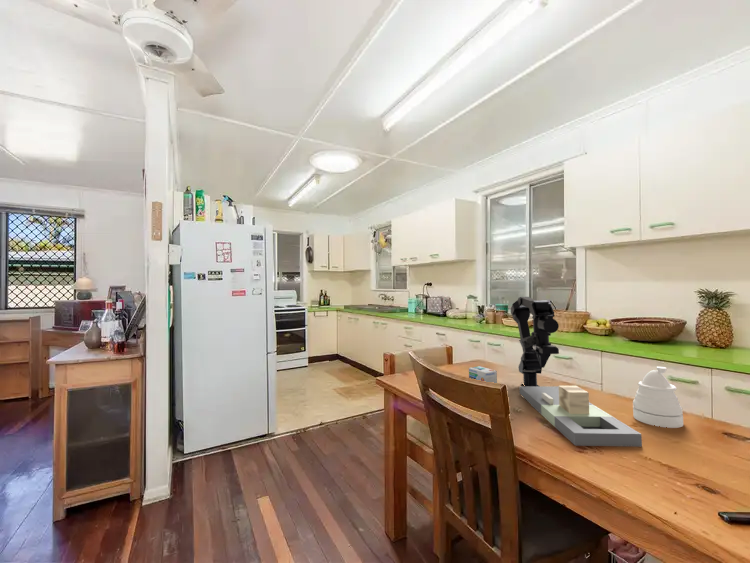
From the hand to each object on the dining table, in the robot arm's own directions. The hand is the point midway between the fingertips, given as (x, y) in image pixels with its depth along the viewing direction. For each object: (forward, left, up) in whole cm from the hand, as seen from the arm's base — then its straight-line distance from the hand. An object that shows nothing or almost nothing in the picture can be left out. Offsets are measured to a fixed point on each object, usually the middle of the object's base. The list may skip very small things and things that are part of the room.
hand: (542, 367), depth 140 cm
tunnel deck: (+22, 0, -12) cm, 25 cm away
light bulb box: (-3, -24, -12) cm, 27 cm away
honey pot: (+25, +27, -12) cm, 39 cm away
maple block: (+26, 0, -8) cm, 27 cm away
